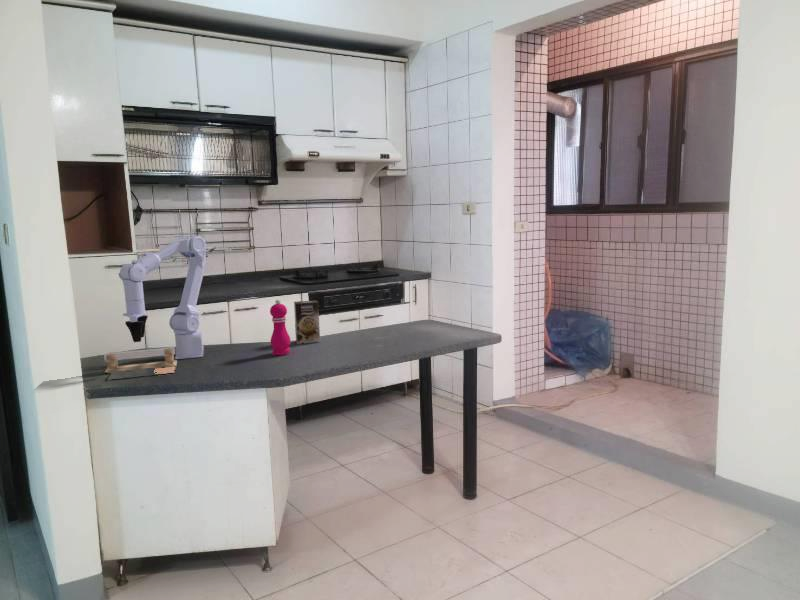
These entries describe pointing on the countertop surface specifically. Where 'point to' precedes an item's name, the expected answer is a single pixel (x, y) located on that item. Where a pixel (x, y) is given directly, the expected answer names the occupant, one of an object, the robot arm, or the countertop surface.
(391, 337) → the countertop surface
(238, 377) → the countertop surface
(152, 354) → the steel rail
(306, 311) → the coffee box
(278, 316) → the pepper mill
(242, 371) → the countertop surface
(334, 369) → the countertop surface
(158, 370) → the terracotta mat
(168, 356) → the wooden post frame
